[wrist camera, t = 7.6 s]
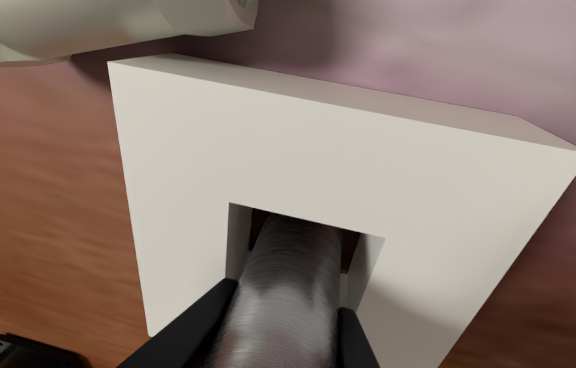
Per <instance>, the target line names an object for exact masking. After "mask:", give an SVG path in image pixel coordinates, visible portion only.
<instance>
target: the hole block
mask: <svg viewBox="0 0 576 368" xmlns="http://www.w3.org/2000/svg"><path fill="white" fill-rule="evenodd" d="M107 64H108V71H109V77H110V84H111V90H112V97H113V104H114V110H115V117H116V123H117V130H118V137H119V143H120V150H121V156H122V163H123V170H124V176H125V183H126V189H127V196H128V203H129V209H130V216H131V222H132V229H133V236H134V242H135V249H136V256H137V262H138V269H139V275H140V282H141V289H142V295H143V302H144V308H145V315H146V322H147V328H148V335H149V336H152V337H153V336H155V335H156V334H157V333H158V332H159V331H161V330H162V329H163V328H164V327H165V326H167V325H168V324H169V323H170V322H171V321H173V320H174V319H175V318H176V317H177V316H179V315H180V314H181V313H182V312H183V311H185V310H186V309H187V308H188V307H189V306H191V305H192V304H193V303H194V302H195V301H197V300H198V299H199V298H200V297H201V296H203V295H204V294H205V293H206V292H207V291H209V290H210V289H211V288H212V287H214V286H215V285H216V284H217V283H218V282H220V281H221V280H222V279H223V278H231V279H235V280H237V281H238V282H239V279H240V277H241V275H242V273H243V270H244V268H245V266H246V263H247V261H248V259H249V257H250V254H251V252H252V251H249V240H250V230H251V220H252V211H253V208H257V209H261V210H266V211H270V212H274V213H279V214H283V215H287V216H292V217H296V218H300V219H305V220H309V221H314V222H318V223H322V224H327V225H331V226H335V227H340V228H344V229H348V230H353V231H357V232H361V235H360V237H359V240H358V243H357V246H356V249H355V252H354V255H353V258H352V261H351V264H350V267H349V270H348V273H347V274H343V273H340V299H339V308H340V307H345V308H349V309H352V310H354V311H355V313H356V315H357V317H358V319H359V321H360V323H361V326H362V328H363V330H364V332H365V334H366V337H367V339H368V341H369V343H370V346H371V348H372V350H373V352H374V354H375V357H376V359H377V361H378V363H379V365H380V368H438V366H439V365H440V364H441V362H442V361H443V359H444V358H445V357H446V355H447V354H448V353H449V351H450V350H451V348H452V347H453V346H454V344H455V343H456V341H457V340H458V339H459V337H460V336H461V334H462V333H463V332H464V330H465V329H466V327H467V326H468V325H469V323H470V322H471V320H472V319H473V318H474V316H475V315H476V314H477V312H478V311H479V309H480V308H481V307H482V305H483V304H484V302H485V301H486V300H487V298H488V297H489V295H490V294H491V293H492V291H493V290H494V288H495V287H496V286H497V284H498V283H499V281H500V280H501V279H502V277H503V276H504V274H505V273H506V272H507V270H508V269H509V268H510V266H511V265H512V263H513V262H514V261H515V259H516V258H517V256H518V255H519V254H520V252H521V251H522V249H523V248H524V247H525V245H526V244H527V242H528V241H529V240H530V238H531V237H532V235H533V234H534V233H535V231H536V230H537V229H538V227H539V226H540V224H541V223H542V222H543V220H544V219H545V217H546V216H547V215H548V213H549V212H550V210H551V209H552V208H553V206H554V205H555V203H556V202H557V201H558V199H559V198H560V196H561V195H562V194H563V192H564V191H565V189H566V188H567V187H568V185H569V184H570V183H571V181H572V180H573V178H574V177H575V176H576V146H574V145H572V144H570V143H568V142H566V141H564V140H563V139H561V138H559V137H557V136H555V135H553V134H551V133H549V132H547V131H545V130H543V129H541V128H539V127H537V126H535V125H533V124H531V123H529V122H527V121H526V120H524V119H522V118H520V117H517V116H512V115H506V114H501V113H496V112H490V111H485V110H479V109H474V108H468V107H463V106H458V105H452V104H447V103H441V102H436V101H430V100H425V99H420V98H414V97H409V96H403V95H398V94H392V93H387V92H382V91H376V90H371V89H365V88H360V87H354V86H349V85H343V84H338V83H333V82H327V81H322V80H316V79H311V78H305V77H300V76H295V75H289V74H284V73H278V72H273V71H267V70H262V69H257V68H251V67H246V66H240V65H235V64H229V63H224V62H219V61H213V60H208V59H202V58H197V57H191V56H186V55H181V54H175V53H169V54H161V55H153V56H146V57H138V58H131V59H123V60H115V61H108V62H107Z"/></svg>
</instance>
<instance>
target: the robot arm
mask: <svg viewBox="0 0 576 368" xmlns="http://www.w3.org/2000/svg"><path fill="white" fill-rule="evenodd" d="M237 284H238V281H237V280H235V279H231V278H223V279H222V280H221V281H220V282H218V283H217V284H216V285H215V286H214V287H212V288H211V289H210V290H209V291H207V292H206V293H205V294H204V295H203V296H201V297H200V298H199V299H198V300H197V301H195V302H194V303H193V304H192V305H191V306H189V307H188V308H187V309H186V310H185V311H183V312H182V313H181V314H180V315H179V316H177V317H176V318H175V319H174V320H173V321H171V322H170V323H169V324H168V325H167V326H165V327H164V328H163V329H162V330H161V331H159V332H158V333H157V334H156V335H155V336H153V337H152V338H151V339H150V340H149V341H147V342H146V343H145V344H144V345H143V346H141V347H140V348H139V349H138V350H137V351H135V352H134V353H133V354H132V355H130V356H129V357H128V358H127V359H126V360H124V361H123V362H122V363H121V364H120V365H118V366H117V367H116V368H201V366H202V364H203V362H204V359H205V357H206V355H207V353H208V350H209V348H210V346H211V343H212V341H213V339H214V337H215V334H216V332H217V330H218V327H219V325H220V323H221V321H222V318H223V316H224V314H225V311H226V309H227V307H228V305H229V302H230V300H231V298H232V295H233V293H234V291H235V289H236V286H237ZM0 368H82V367H81V364H80V361H79V359H78V358H77V357H75V356H74V355H71V354H68V353H64V352H61V351H57V350H54V349H51V348H47V347H44V346H41V345H37V344H34V343H30V342H27V341H24V340H20V339H17V338H13V337H10V336H7V335H3V334H0ZM337 368H380V365H379V363H378V361H377V359H376V357H375V354H374V352H373V350H372V348H371V346H370V343H369V341H368V339H367V337H366V334H365V332H364V330H363V328H362V326H361V323H360V321H359V319H358V317H357V315H356V313H355V311H354V310H352V309H349V308H345V307H340V308H339V328H338V358H337Z"/></svg>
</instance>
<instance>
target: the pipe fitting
mask: <svg viewBox="0 0 576 368" xmlns="http://www.w3.org/2000/svg"><path fill="white" fill-rule="evenodd" d="M257 11H258V0H0V67H23V66H41V65H47V64H53V63H58V62H64V61H70V59H71V55H72V54H76V53H82V52H88V51H93V50H99V49H105V48H110V47H116V46H121V45H127V44H133V43H139V42H144V41H150V40H156V39H161V38H167V37H173V36H179V35H184V34H187V35H195V36H217V35H223V34H229V33H234V32H240V31H246V30H252V29H254V25H255V21H256V16H257Z"/></svg>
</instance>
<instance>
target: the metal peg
mask: <svg viewBox="0 0 576 368" xmlns="http://www.w3.org/2000/svg"><path fill="white" fill-rule="evenodd" d="M341 240H342V237H341V231H340V228H339V227H335V226H331V225H327V224H322V223H318V222H314V221H309V220H305V219H300V218H296V217H292V216H287V215H283V214H279V213H274V212H271V213H270V214H269V215H268V217H267V218H266V220H265V222H264V225H263V227H262V229H261V232H260V234H259V236H258V238H257V241H256V243H255V245H254V247H253V250H252V252H251V254H250V257H249V259H248V261H247V263H246V266H245V268H244V270H243V273H242V275H241V277H240V279H239V282H238V284H237V286H236V289H235V291H234V293H233V295H232V298H231V300H230V302H229V305H228V307H227V309H226V311H225V314H224V316H223V318H222V321H221V323H220V325H219V327H218V330H217V332H216V334H215V337H214V339H213V341H212V343H211V346H210V348H209V350H208V353H207V355H206V357H205V359H204V362H203V364H202V366H201V368H337V358H338V328H339V299H340V269H341Z"/></svg>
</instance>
